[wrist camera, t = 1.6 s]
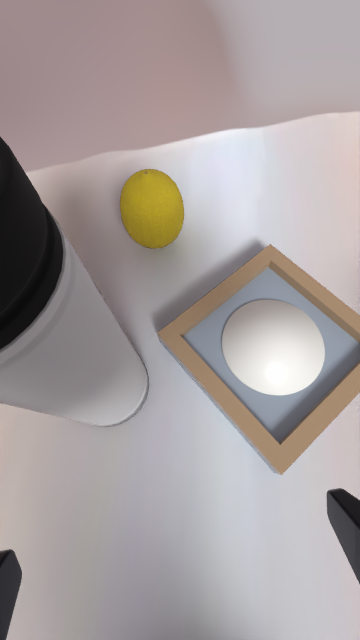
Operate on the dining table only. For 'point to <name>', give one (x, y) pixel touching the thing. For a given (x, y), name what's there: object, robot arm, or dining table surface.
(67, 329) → the travel mug
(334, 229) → the dining table surface
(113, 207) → the dining table surface
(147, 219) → the lemon
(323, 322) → the square wooden frame
